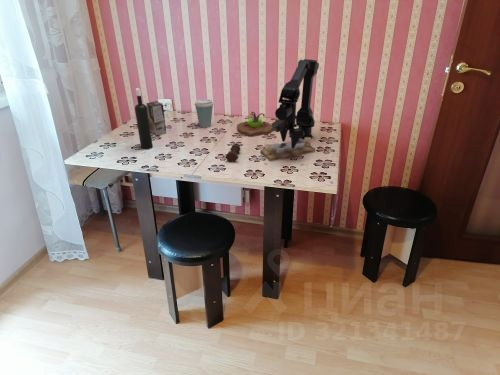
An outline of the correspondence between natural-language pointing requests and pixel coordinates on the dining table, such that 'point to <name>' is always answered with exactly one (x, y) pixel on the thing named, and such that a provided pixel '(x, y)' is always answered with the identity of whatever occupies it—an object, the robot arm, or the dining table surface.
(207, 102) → the disposable coffee cup
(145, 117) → the wine bottle
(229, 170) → the dining table surface
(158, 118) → the coffee box
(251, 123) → the plant
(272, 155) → the peg rack
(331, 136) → the dining table surface
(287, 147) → the grey stepped block
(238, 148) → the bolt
